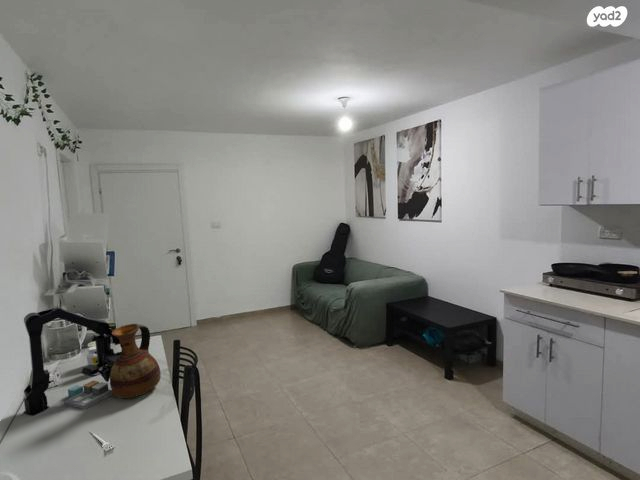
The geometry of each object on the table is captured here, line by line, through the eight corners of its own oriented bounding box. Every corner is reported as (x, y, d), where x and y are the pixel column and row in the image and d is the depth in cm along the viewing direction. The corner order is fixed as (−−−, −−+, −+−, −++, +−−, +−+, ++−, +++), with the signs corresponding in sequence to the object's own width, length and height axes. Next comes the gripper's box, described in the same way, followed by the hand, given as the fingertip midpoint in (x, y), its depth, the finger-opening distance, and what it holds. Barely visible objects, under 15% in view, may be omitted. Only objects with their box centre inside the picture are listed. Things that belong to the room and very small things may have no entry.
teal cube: (74, 398, 165) (73, 390, 164) (68, 397, 166) (67, 389, 166) (83, 393, 168) (82, 386, 168) (77, 392, 170) (76, 385, 169)
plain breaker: (99, 395, 162) (98, 388, 161) (92, 394, 163) (91, 386, 163) (108, 390, 166) (107, 383, 166) (102, 389, 167) (101, 381, 167)
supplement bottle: (107, 369, 192) (104, 345, 191) (98, 375, 186) (95, 350, 184) (95, 369, 193) (92, 345, 192) (85, 375, 186) (82, 350, 185)
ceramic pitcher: (100, 399, 162) (92, 331, 159) (136, 377, 181) (129, 316, 178) (138, 404, 156) (130, 334, 153) (171, 381, 175) (164, 318, 172)
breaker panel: (84, 409, 155) (84, 404, 155) (64, 404, 160) (64, 399, 159) (112, 393, 167) (112, 388, 167) (93, 389, 172) (93, 385, 171)
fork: (94, 430, 141) (93, 426, 141) (118, 450, 128) (117, 444, 128) (84, 435, 138) (84, 430, 138) (108, 455, 126) (107, 449, 125)
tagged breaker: (90, 394, 164) (89, 386, 163) (84, 392, 165) (83, 385, 165) (100, 388, 168) (99, 381, 168) (93, 387, 169) (92, 380, 169)
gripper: (97, 358, 160) (101, 393, 162) (133, 342, 177) (137, 374, 179) (79, 355, 165) (83, 390, 166) (116, 340, 182) (120, 371, 183)
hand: (107, 381), depth 174 cm, fingers closed
